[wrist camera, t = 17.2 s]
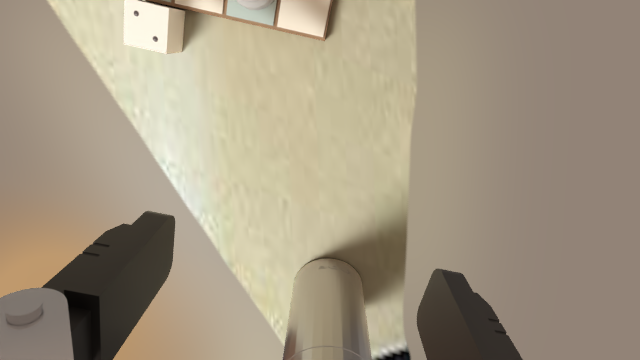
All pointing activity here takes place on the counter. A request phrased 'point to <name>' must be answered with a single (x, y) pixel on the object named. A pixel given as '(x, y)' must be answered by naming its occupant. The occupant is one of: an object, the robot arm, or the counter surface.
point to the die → (153, 26)
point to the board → (268, 14)
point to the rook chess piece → (255, 4)
